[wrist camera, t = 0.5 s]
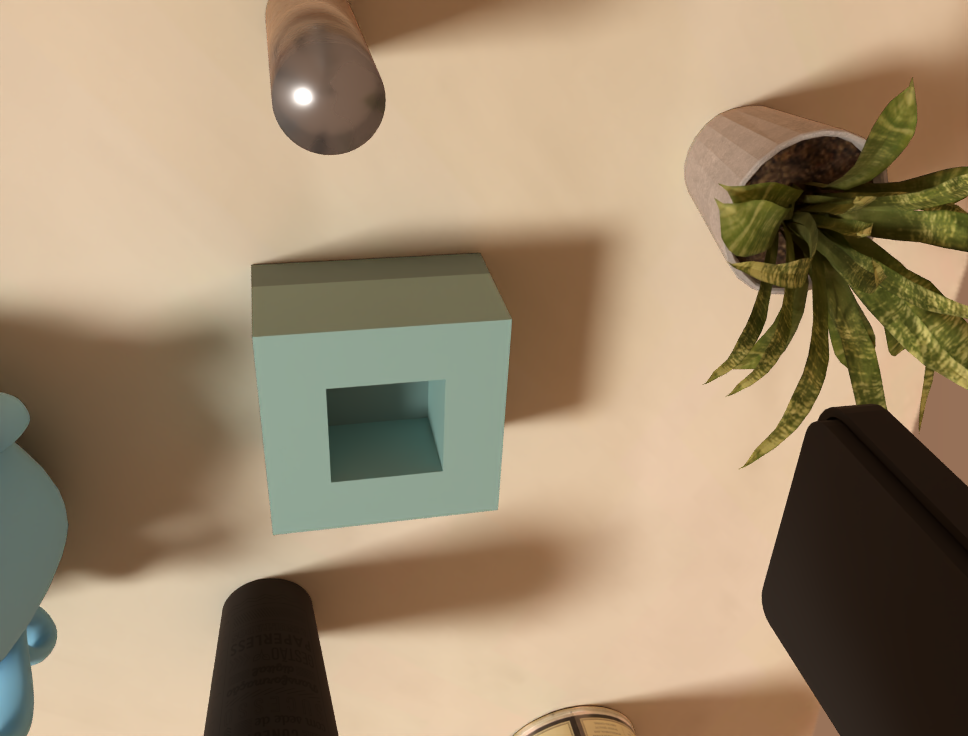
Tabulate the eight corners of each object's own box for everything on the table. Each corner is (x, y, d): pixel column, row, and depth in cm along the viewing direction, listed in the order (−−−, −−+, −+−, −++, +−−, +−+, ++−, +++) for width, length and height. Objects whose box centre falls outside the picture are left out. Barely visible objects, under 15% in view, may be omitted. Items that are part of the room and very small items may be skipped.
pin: (261, -27, 33) (267, 42, 25) (351, -26, 34) (384, 42, 25) (269, 64, 35) (276, 156, 26) (353, 63, 35) (386, 153, 27)
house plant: (520, 282, 42) (645, 520, 29) (617, -32, 35) (840, 92, 22) (779, 319, 47) (991, 541, 33) (909, 48, 40) (1240, 190, 27)
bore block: (251, 265, 39) (251, 337, 34) (480, 253, 41) (512, 319, 36) (270, 449, 44) (273, 535, 39) (471, 431, 46) (497, 509, 42)
